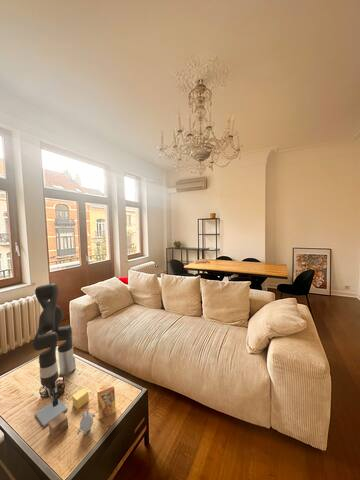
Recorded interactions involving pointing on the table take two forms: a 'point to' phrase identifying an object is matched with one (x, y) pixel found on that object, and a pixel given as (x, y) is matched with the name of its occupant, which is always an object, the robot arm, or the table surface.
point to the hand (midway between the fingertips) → (52, 401)
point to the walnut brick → (58, 425)
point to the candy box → (106, 400)
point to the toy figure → (86, 422)
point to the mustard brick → (80, 398)
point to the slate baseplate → (50, 412)
